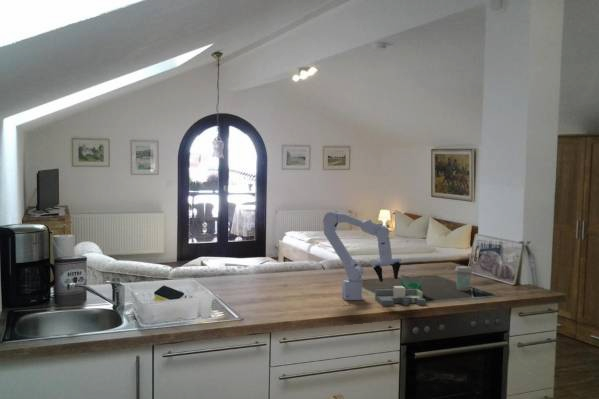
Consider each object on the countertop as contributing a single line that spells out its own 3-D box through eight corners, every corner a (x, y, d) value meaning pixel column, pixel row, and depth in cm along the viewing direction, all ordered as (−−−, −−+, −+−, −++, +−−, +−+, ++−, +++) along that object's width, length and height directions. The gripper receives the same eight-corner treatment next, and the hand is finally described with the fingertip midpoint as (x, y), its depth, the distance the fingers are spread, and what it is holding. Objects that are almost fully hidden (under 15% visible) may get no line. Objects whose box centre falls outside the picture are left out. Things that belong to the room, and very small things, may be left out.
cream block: (395, 297, 263) (396, 288, 263) (392, 295, 268) (393, 286, 268) (405, 297, 264) (405, 288, 264) (402, 295, 268) (402, 285, 268)
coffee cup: (461, 292, 289) (462, 268, 288) (450, 288, 297) (451, 266, 296) (474, 290, 292) (475, 268, 291) (464, 287, 300) (465, 265, 299)
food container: (403, 297, 275) (404, 277, 274) (399, 294, 281) (399, 274, 280) (427, 296, 277) (428, 276, 276) (422, 293, 283) (423, 274, 282)
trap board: (382, 305, 257) (382, 295, 257) (375, 299, 268) (375, 289, 268) (425, 304, 260) (426, 294, 260) (417, 299, 271) (417, 289, 271)
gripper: (374, 254, 259) (378, 283, 259) (402, 249, 263) (406, 278, 263) (368, 253, 266) (372, 281, 266) (396, 248, 270) (399, 276, 270)
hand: (388, 280), depth 265 cm, fingers open, 7 cm apart
